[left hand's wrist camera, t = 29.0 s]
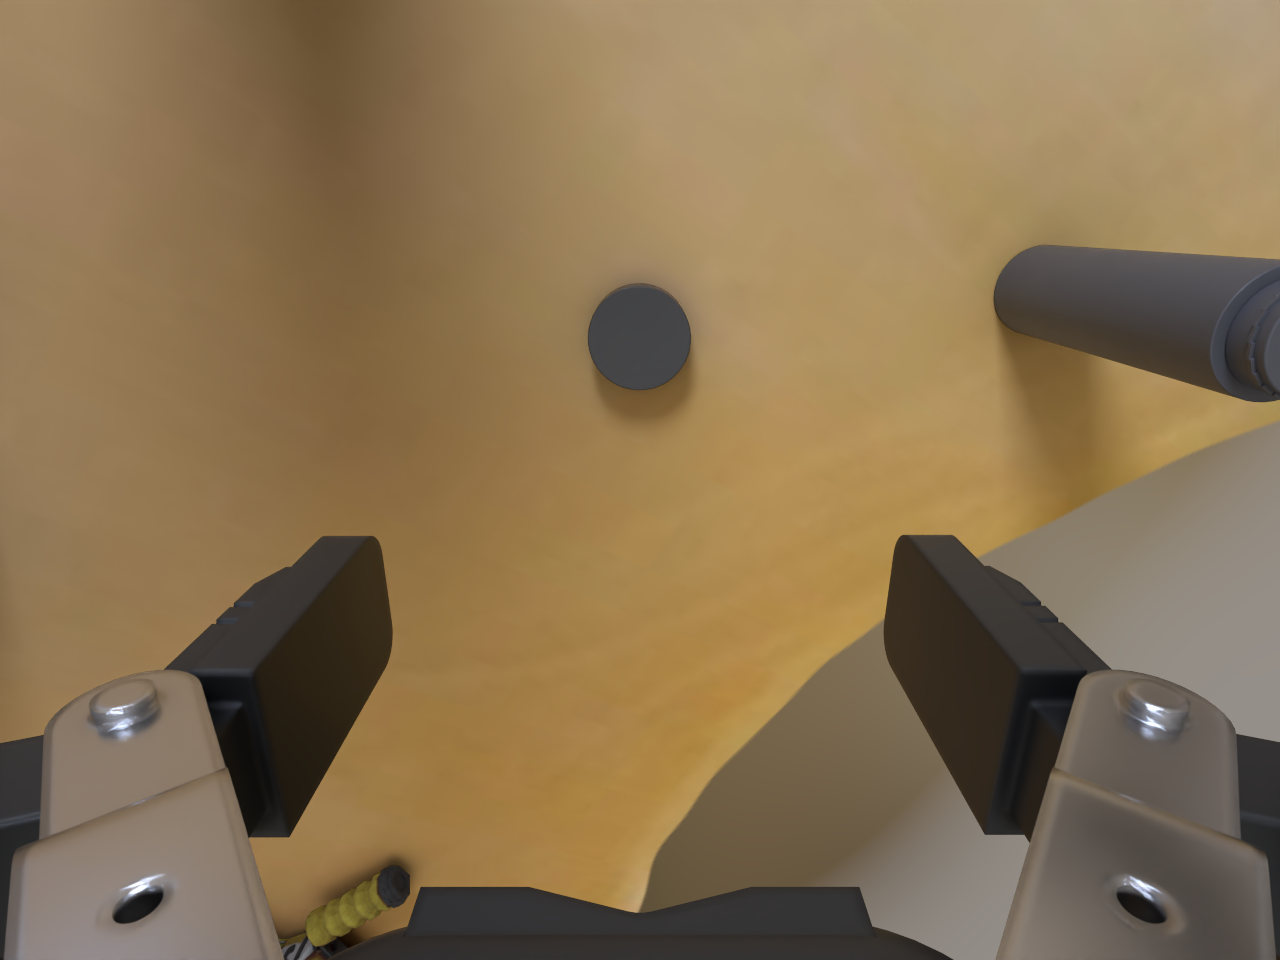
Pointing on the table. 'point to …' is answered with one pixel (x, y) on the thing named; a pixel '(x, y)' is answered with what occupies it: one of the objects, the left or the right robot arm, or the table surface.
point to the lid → (639, 337)
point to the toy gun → (347, 915)
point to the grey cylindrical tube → (1154, 312)
